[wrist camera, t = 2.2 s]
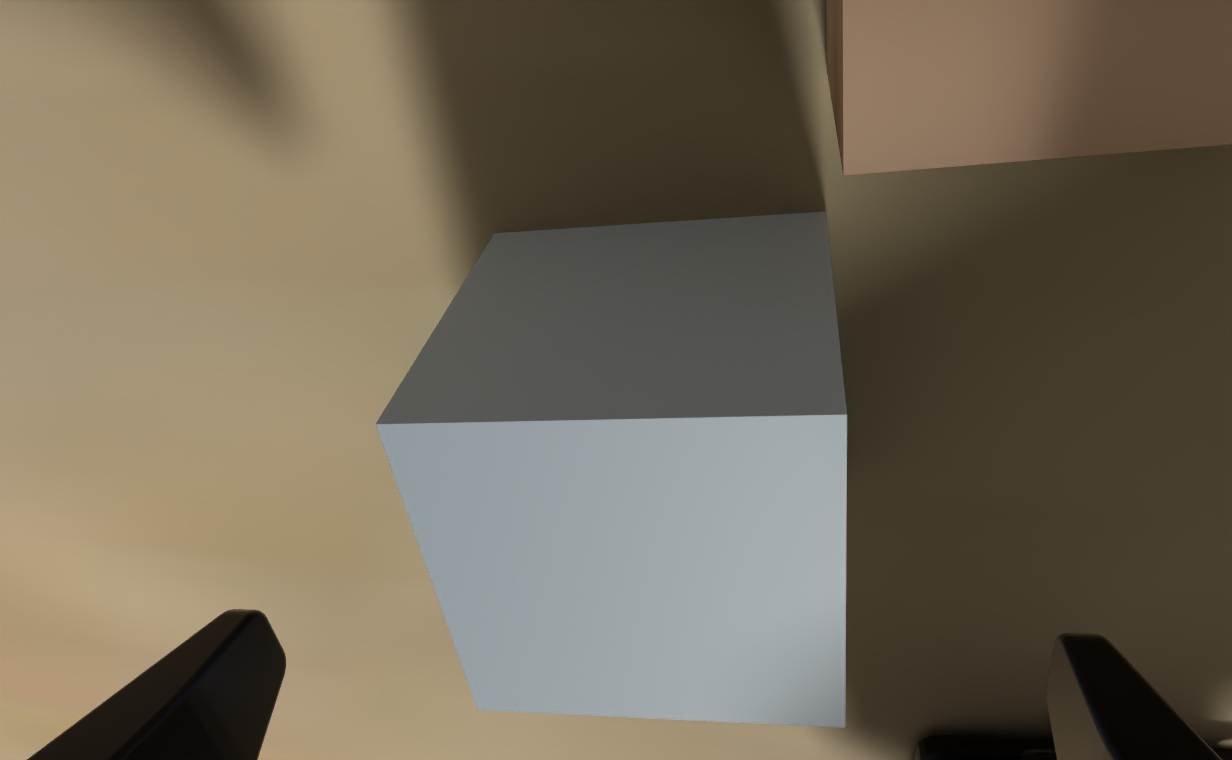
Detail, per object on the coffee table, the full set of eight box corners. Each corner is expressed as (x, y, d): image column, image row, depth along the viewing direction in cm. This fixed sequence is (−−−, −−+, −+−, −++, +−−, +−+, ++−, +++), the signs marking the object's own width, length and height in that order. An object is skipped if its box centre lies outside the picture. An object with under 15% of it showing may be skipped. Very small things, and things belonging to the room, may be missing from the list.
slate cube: (828, 475, 15) (845, 728, 11) (552, 478, 16) (477, 709, 12) (825, 208, 13) (846, 414, 9) (495, 230, 14) (375, 423, 10)
